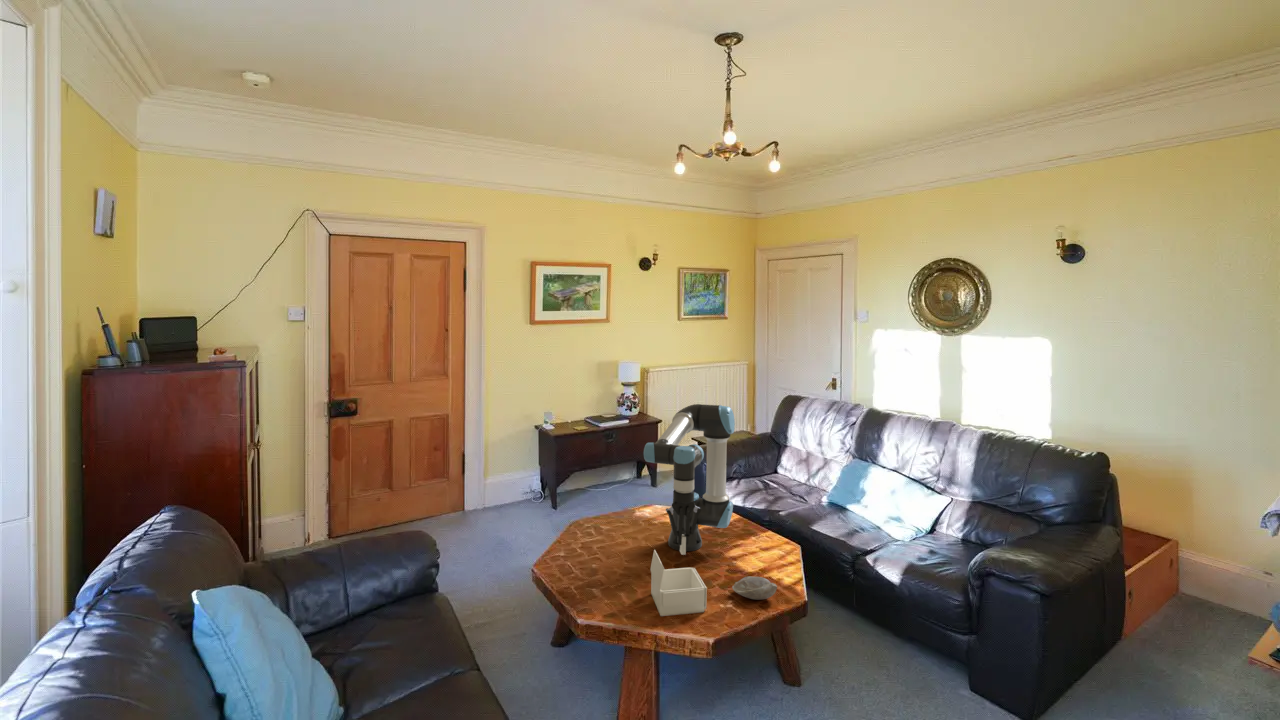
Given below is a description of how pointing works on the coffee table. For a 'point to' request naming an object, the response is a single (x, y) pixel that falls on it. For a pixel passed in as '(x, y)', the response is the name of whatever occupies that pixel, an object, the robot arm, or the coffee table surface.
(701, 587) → the white open box
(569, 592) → the coffee table surface
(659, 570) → the flap
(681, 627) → the coffee table surface
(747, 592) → the seashell
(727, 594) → the coffee table surface
